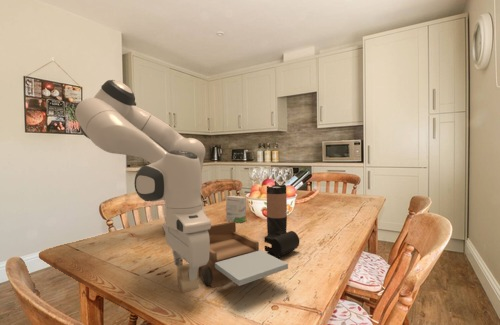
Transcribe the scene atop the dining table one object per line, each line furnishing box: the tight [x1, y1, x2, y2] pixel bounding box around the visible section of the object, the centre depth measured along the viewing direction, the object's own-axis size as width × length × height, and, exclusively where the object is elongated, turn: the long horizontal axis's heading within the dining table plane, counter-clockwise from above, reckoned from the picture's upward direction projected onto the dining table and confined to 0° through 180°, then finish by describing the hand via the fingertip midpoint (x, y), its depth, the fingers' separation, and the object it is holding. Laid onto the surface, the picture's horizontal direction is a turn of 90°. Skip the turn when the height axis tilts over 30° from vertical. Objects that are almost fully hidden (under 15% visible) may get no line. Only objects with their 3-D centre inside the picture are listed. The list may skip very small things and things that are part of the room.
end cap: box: [264, 230, 300, 259], centre depth 88 cm, size 10×7×7 cm
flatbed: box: [198, 221, 260, 288], centre depth 76 cm, size 13×16×12 cm
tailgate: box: [215, 249, 289, 287], centre depth 65 cm, size 2×14×11 cm
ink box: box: [225, 195, 247, 224], centre depth 129 cm, size 9×5×12 cm, turn 58°
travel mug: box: [266, 184, 288, 236], centre depth 103 cm, size 8×8×20 cm
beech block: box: [176, 263, 200, 294], centre depth 67 cm, size 4×4×5 cm
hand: (185, 271), depth 67 cm, fingers open, 8 cm apart
